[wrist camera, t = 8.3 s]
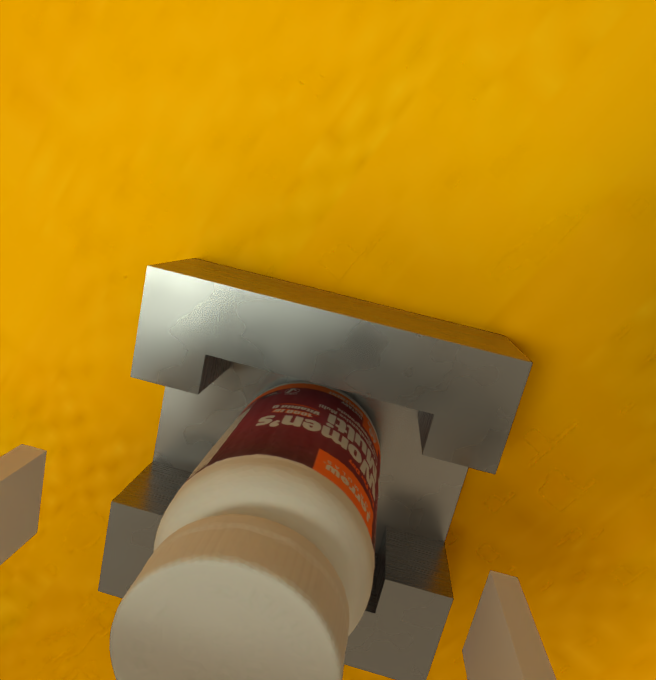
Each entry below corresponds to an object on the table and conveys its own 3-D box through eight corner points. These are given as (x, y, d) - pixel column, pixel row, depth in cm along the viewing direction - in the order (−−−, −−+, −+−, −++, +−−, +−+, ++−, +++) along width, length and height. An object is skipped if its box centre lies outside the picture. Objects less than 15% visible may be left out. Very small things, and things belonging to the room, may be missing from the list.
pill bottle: (404, 412, 21) (418, 612, 10) (347, 536, 23) (305, 825, 12) (264, 353, 22) (131, 487, 11) (216, 480, 23) (55, 713, 12)
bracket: (147, 530, 25) (98, 591, 21) (194, 258, 22) (147, 265, 18) (418, 607, 24) (423, 687, 20) (505, 335, 21) (532, 362, 17)
